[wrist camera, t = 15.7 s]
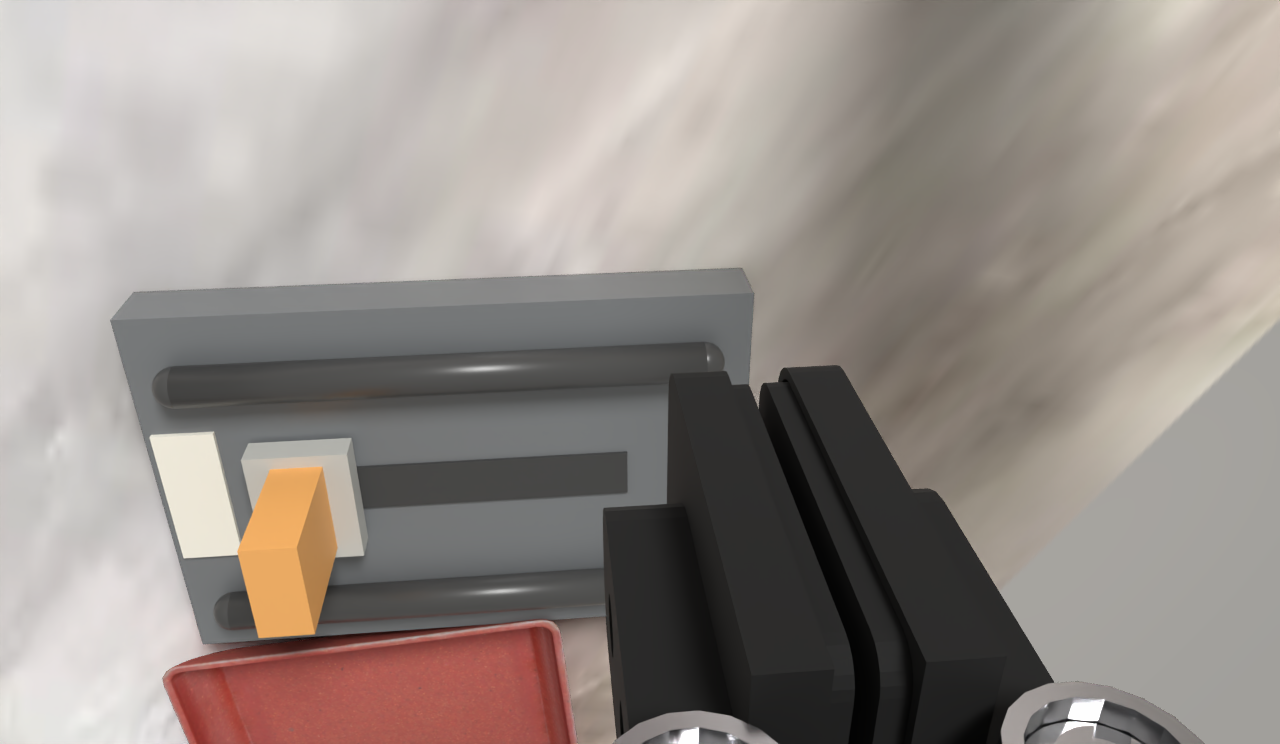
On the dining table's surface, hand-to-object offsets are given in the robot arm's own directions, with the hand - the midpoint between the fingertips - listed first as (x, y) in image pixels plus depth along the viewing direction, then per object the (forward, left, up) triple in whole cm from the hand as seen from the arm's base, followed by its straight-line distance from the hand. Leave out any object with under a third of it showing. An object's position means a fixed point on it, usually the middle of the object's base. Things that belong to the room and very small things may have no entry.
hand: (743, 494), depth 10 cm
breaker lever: (+12, +18, -26) cm, 34 cm away
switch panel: (+6, +18, -29) cm, 35 cm away
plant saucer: (+11, +35, -30) cm, 47 cm away
